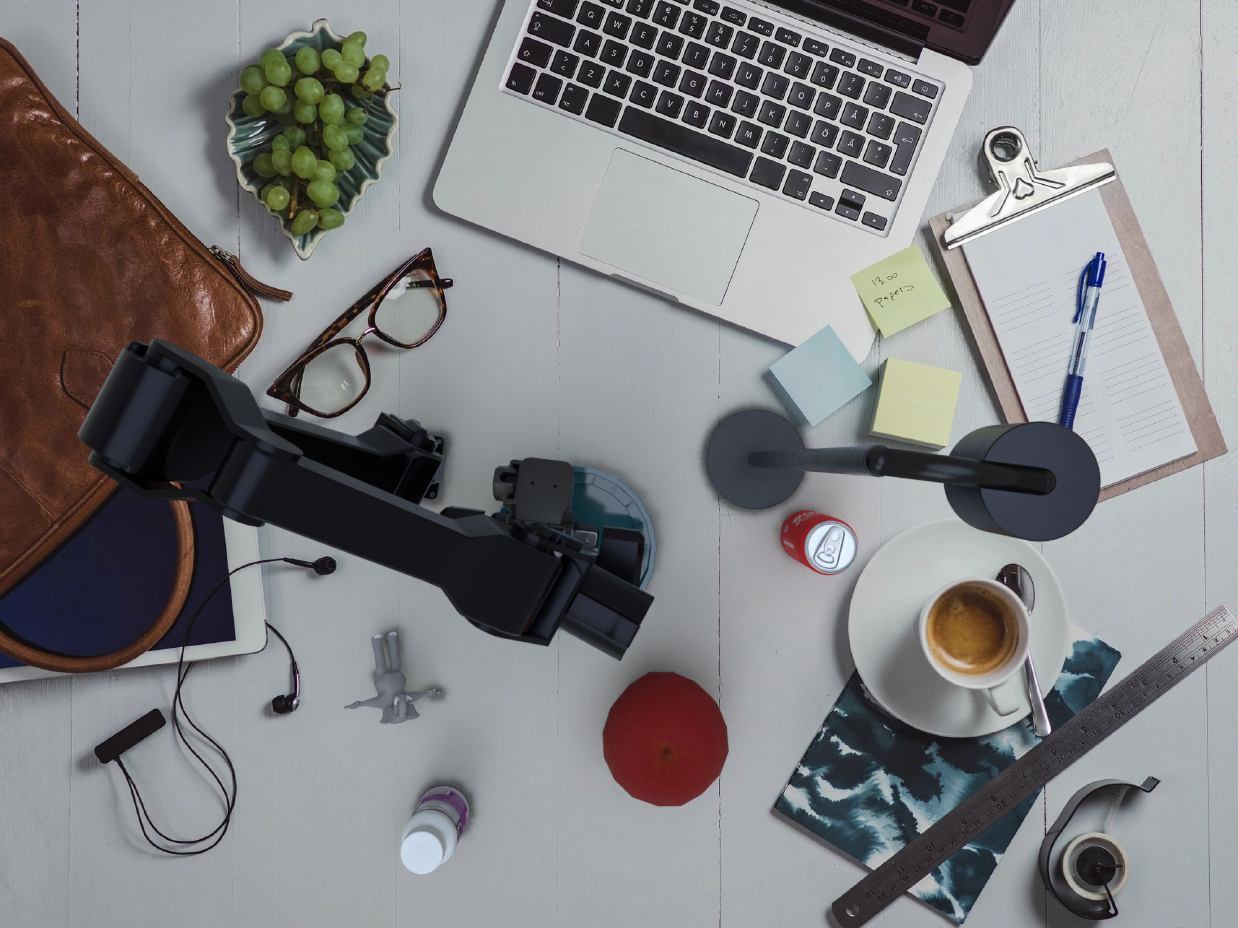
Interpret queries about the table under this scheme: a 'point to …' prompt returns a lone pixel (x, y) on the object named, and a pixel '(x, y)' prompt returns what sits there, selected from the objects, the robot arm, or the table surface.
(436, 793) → the pill bottle
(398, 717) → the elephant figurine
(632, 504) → the bowl
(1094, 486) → the desk lamp
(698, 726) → the apple
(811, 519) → the beverage can
